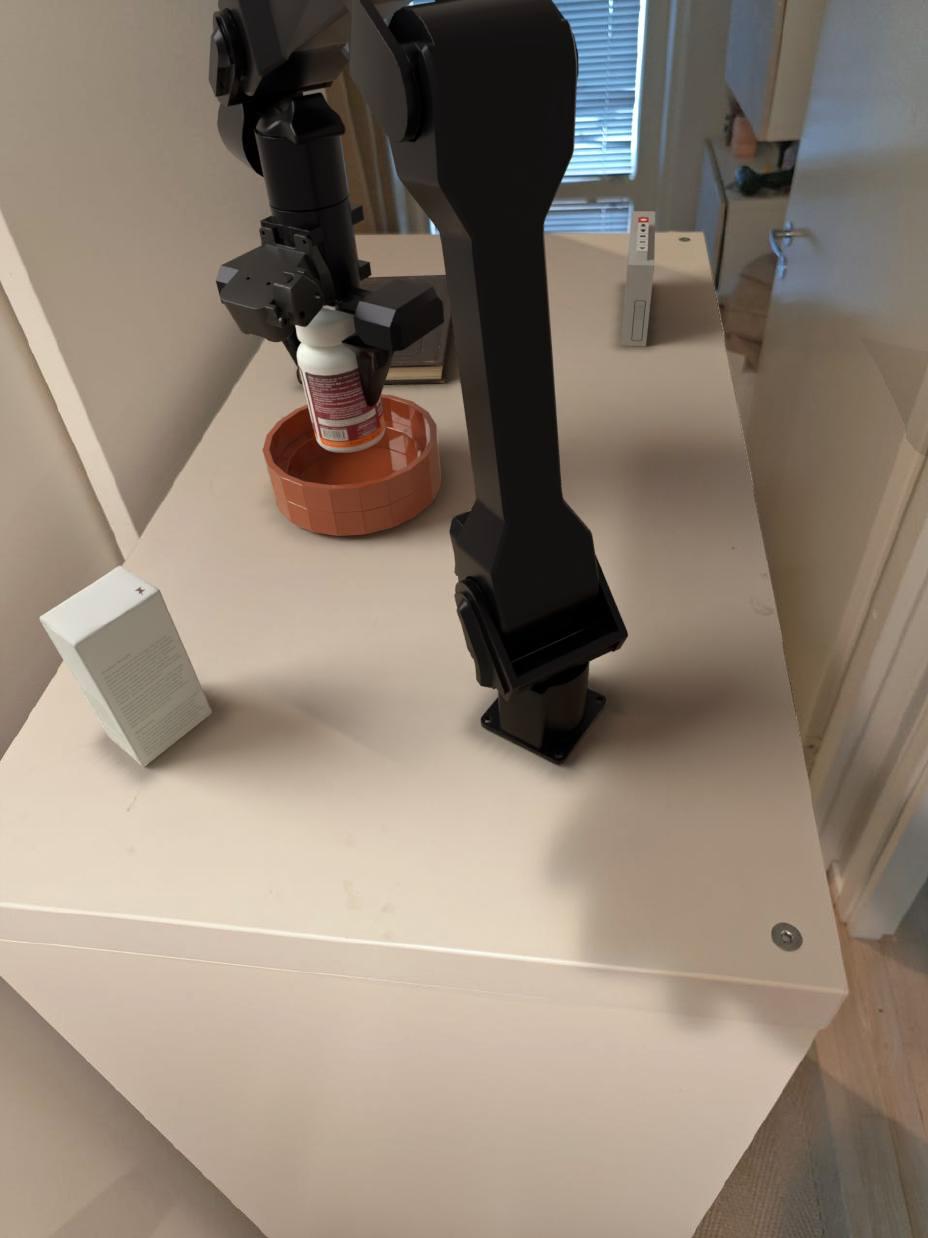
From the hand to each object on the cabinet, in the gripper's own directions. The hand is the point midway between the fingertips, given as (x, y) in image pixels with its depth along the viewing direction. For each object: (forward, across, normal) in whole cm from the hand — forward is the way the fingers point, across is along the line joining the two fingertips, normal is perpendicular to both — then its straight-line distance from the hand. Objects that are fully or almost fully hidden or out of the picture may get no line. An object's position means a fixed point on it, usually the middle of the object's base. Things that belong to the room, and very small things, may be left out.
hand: (343, 394), depth 71 cm
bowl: (+10, 0, 0) cm, 10 cm away
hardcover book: (+10, -17, +25) cm, 32 cm away
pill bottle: (+4, 0, 0) cm, 4 cm away
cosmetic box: (+10, +6, -29) cm, 31 cm away
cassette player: (+10, +6, +44) cm, 45 cm away
